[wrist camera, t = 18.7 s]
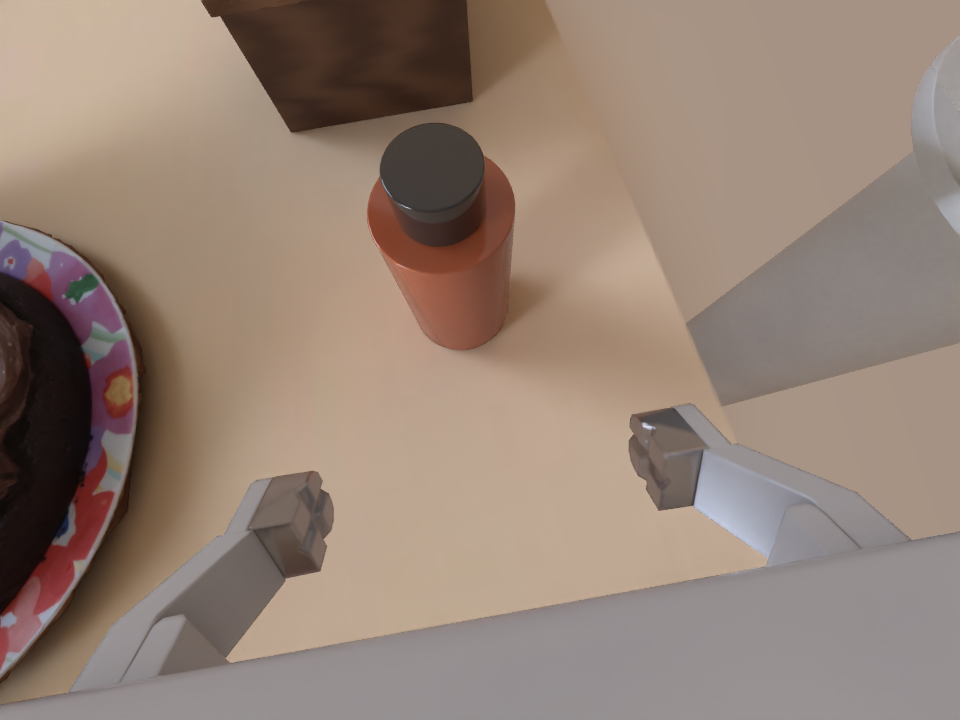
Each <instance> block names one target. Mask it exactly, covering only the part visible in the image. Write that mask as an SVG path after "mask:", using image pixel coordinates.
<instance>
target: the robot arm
mask: <svg viewBox="0 0 960 720" xmlns="http://www.w3.org/2000/svg"><path fill="white" fill-rule="evenodd" d="M630 429H631V430H632V432H633V433H634V434H633V436H632V437H631V438H630V439H629V454H630V459H631V462H632V465H633V467H634V469H635V471H636V473H637V475H638V476H639V477H641V478H643V479H644V480H646V481H647V485H646V490H647V492H648V494H649V495H650V497H651V499H652V500H653V502H654V504H655V505H656V507H657V509H658V510H659V511H661V510H667V509H674V508H680V507H687V506H694V508H695V509H697V510H698V511H700V512H701V513H703V514H704V515H705V516H707V517H708V518H710V519H711V520H713V521H714V522H716V523H717V524H719V525H720V526H721V527H723V528H724V529H726V530H727V531H729V532H730V533H732V534H733V535H735V536H736V537H737V538H739V539H740V540H742V541H743V542H745V543H746V544H748V545H749V546H751V547H752V548H753V549H755V550H756V551H758V552H759V553H761V554H762V555H764V556H765V557H767V558H768V562H767V565H766V567H761V568H755V569H750V570H744V571H738V572H733V573H727V574H722V575H716V576H711V577H705V578H700V579H694V580H688V581H683V582H677V583H672V584H666V585H661V586H655V587H650V588H644V589H639V590H633V591H628V592H622V593H617V594H611V595H606V596H600V597H595V598H589V599H584V600H578V601H573V602H567V603H562V604H556V605H551V606H545V607H540V608H534V609H529V610H523V611H518V612H512V613H507V614H501V615H496V616H490V617H484V618H479V619H473V620H468V621H462V622H456V623H451V624H445V625H440V626H434V627H429V628H423V629H417V630H412V631H406V632H401V633H395V634H390V635H384V636H379V637H373V638H367V639H362V640H356V641H351V642H345V643H340V644H334V645H329V646H323V647H318V648H312V649H306V650H301V651H295V652H290V653H284V654H279V655H273V656H268V657H262V658H257V659H251V660H245V661H240V662H234V663H230V662H229V661H228V660H227V659H226V657H227V656H228V654H229V653H230V652H231V650H232V649H233V648H234V647H235V645H236V644H237V643H238V641H239V640H240V639H241V638H242V636H243V635H244V634H245V632H246V631H247V630H248V629H249V627H250V626H251V625H252V623H253V622H254V621H255V620H256V618H257V617H258V616H259V614H260V613H261V612H262V611H263V609H264V608H265V607H266V605H267V604H268V603H269V601H270V600H271V599H272V598H273V596H274V595H275V594H276V592H277V591H278V590H279V589H280V587H281V586H282V585H283V583H284V582H285V581H286V580H285V579H286V578H290V577H295V576H300V575H305V574H310V573H314V572H319V571H321V567H322V563H323V560H324V556H325V552H326V549H327V545H326V543H325V541H324V540H323V539H324V538H325V537H326V536H327V535H328V534H329V532H330V531H331V529H332V525H333V521H334V508H333V503H332V500H331V498H330V495H329V493H327V492H325V491H323V490H322V489H320V488H321V485H322V482H323V481H322V479H321V477H320V475H319V473H318V472H316V471H309V472H303V473H296V474H290V475H283V476H276V477H273V478H266V479H259V480H256V481H254V482H253V483H251V485H250V486H249V488H248V490H247V492H246V494H245V496H244V498H243V500H242V501H241V503H240V505H239V507H238V509H237V511H236V513H235V515H234V516H233V518H232V520H231V522H230V524H229V526H228V528H227V530H226V532H225V533H224V535H221V536H217V537H216V538H215V539H213V540H212V541H211V542H210V543H209V544H207V545H206V546H205V547H204V548H203V549H202V550H200V551H199V552H198V553H197V554H196V555H194V556H193V557H192V558H191V559H190V560H189V561H187V562H186V563H185V564H184V565H183V566H181V567H180V568H179V569H178V570H177V571H175V572H174V573H173V574H172V575H171V576H170V577H168V578H167V579H166V580H165V581H164V582H162V583H161V584H160V585H159V586H158V587H157V588H155V589H154V590H153V591H152V592H151V593H149V594H148V595H147V596H146V597H145V598H144V599H142V600H141V601H140V602H139V603H138V604H136V605H135V606H134V607H133V608H132V609H130V610H129V611H128V612H127V613H126V614H125V615H123V616H122V617H121V618H120V619H119V620H117V621H116V622H115V623H114V624H113V625H112V626H111V628H110V629H109V631H108V632H107V634H106V635H105V637H104V638H103V640H102V641H101V643H100V644H99V646H98V647H97V649H96V650H95V652H94V653H93V655H92V656H91V658H90V660H89V661H88V663H87V664H86V666H85V667H84V669H83V670H82V672H81V673H80V675H79V676H78V678H77V679H76V681H75V682H74V684H73V685H72V687H71V688H70V690H69V691H68V693H62V694H57V695H51V696H46V697H40V698H35V699H29V700H24V701H18V702H13V703H7V704H1V705H0V720H960V532H955V533H950V534H944V535H938V536H933V537H927V538H922V539H916V540H911V539H910V538H908V536H907V535H905V534H904V533H903V532H902V531H901V530H900V529H898V528H897V527H896V526H895V525H894V524H893V523H892V522H890V521H889V520H888V519H887V518H886V517H885V516H883V515H882V514H881V513H880V512H879V511H878V510H876V509H875V508H874V507H873V506H872V505H871V504H869V503H868V502H867V501H866V500H865V499H864V498H863V497H861V496H860V495H859V494H858V493H857V492H854V491H852V490H850V489H847V488H845V487H842V486H840V485H838V484H835V483H832V482H830V481H828V480H825V479H823V478H821V477H818V476H816V475H813V474H811V473H808V472H806V471H804V470H801V469H798V468H796V467H794V466H791V465H789V464H787V463H784V462H782V461H779V460H777V459H774V458H772V457H769V456H767V455H765V454H762V453H760V452H757V451H755V450H752V449H750V448H748V447H745V446H743V445H740V444H733V445H732V444H731V443H730V442H729V441H728V440H727V439H726V438H725V437H724V436H723V435H722V433H721V432H720V431H719V430H718V429H717V428H716V427H715V426H714V425H713V424H712V423H711V422H710V421H709V420H708V419H707V418H706V417H705V416H704V415H703V414H702V413H701V412H700V410H699V409H698V408H697V407H696V406H695V405H693V404H690V403H689V404H684V405H679V406H674V407H670V408H665V409H660V410H654V411H649V412H643V413H638V414H632V416H631V418H630Z"/></svg>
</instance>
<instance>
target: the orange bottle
mask: <svg viewBox="0 0 960 720" xmlns="http://www.w3.org/2000/svg"><path fill="white" fill-rule="evenodd" d="M514 220H515V199H514V194H513V191H512V187H511V185H510V183H509V181H508V179H507V177H506V176H505V175H504V173H503V172H502V170H501V169H500V168H499V167H498V166H497V165H496V164H495V163H494V162H492V161H491V160H490V159H488V158H487V157H485V156H484V155H483V152H482V150H481V148H480V146H479V145H478V143H477V142H476V141H475V139H474V138H473V137H472V136H471V135H469V134H468V133H467V132H465V131H464V130H462V129H460V128H458V127H455V126H452V125H448V124H443V123H428V124H422V125H418V126H415V127H412V128H410V129H408V130H406V131H404V132H402V133H401V134H400V135H398V136H397V137H396V138H395V139H394V140H393V141H392V142H391V143H390V144H389V145H388V147H387V148H386V150H385V152H384V154H383V156H382V159H381V163H380V177H379V179H378V180H377V182H376V183H375V185H374V187H373V189H372V192H371V194H370V198H369V202H368V208H367V221H368V226H369V230H370V233H371V236H372V238H373V240H374V242H375V244H376V246H377V247H378V249H379V251H380V253H381V255H382V257H383V259H384V260H385V262H386V264H387V266H388V268H389V270H390V272H391V273H392V275H393V277H394V279H395V281H396V283H397V285H398V286H399V288H400V290H401V292H402V294H403V296H404V298H405V299H406V301H407V303H408V305H409V307H410V309H411V311H412V312H413V314H414V316H415V318H416V320H417V322H418V324H419V325H420V327H421V329H422V331H423V332H424V333H425V335H426V336H427V337H428V338H429V339H431V340H432V341H433V342H435V343H436V344H438V345H440V346H443V347H445V348H449V349H454V350H467V349H472V348H476V347H478V346H481V345H483V344H485V343H487V342H488V341H489V340H491V339H492V338H493V337H494V336H495V335H496V334H497V333H498V332H499V331H500V329H501V328H502V326H503V324H504V322H505V319H506V316H507V311H508V299H509V286H510V273H511V260H512V247H513V233H514Z"/></svg>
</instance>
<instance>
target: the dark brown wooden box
mask: <svg viewBox="0 0 960 720" xmlns="http://www.w3.org/2000/svg"><path fill="white" fill-rule="evenodd" d="M201 2H202V3H203V5H204V7H205V8H206V10H207V11H208V13H209V14H210V16H211V17H218V16H220V17H221V18H222V20H223V22H224V23H225V25H226V27H227V28H228V30H229V32H230V33H231V35H232V36H233V38H234V40H235V41H236V43H237V45H238V46H239V48H240V50H241V51H242V53H243V54H244V56H245V58H246V59H247V61H248V63H249V64H250V66H251V68H252V69H253V71H254V72H255V74H256V76H257V77H258V79H259V81H260V82H261V84H262V86H263V87H264V89H265V90H266V92H267V94H268V95H269V97H270V99H271V100H272V102H273V104H274V105H275V107H276V108H277V110H278V112H279V113H280V115H281V117H282V118H283V120H284V122H285V123H286V125H287V126H288V128H289V130H290V131H291V132H297V131H302V130H308V129H314V128H320V127H326V126H331V125H337V124H343V123H349V122H355V121H361V120H366V119H372V118H378V117H384V116H390V115H395V114H401V113H407V112H413V111H419V110H425V109H430V108H436V107H442V106H448V105H454V104H459V103H465V102H471V101H472V100H473V97H472V82H471V66H470V50H469V34H468V18H467V2H466V0H201Z"/></svg>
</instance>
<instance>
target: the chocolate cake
mask: <svg viewBox="0 0 960 720" xmlns="http://www.w3.org/2000/svg"><path fill="white" fill-rule="evenodd" d="M125 313H126V311H125V310H124V308H123V307H122V306H121V305H120V304H119V302H118V299H117V297H115V296H114V295H112V293H111V291H110V289H109V287H108V286H107V284H106V283H105V280H104V277H103V275H102V274H101V272H100V271H99V270H98V269H97V268H96V267H95V266H94V265H93V264H92V263H91V262H90V261H89V260H88V259H87V258H86V257H85V256H83V255H82V254H80V253H79V252H77V251H76V250H75V249H74V248H73V247H72V246H71V245H68V244H65V243H63V242H62V241H61V240H60V239H56V238H52V235H50V234H47V233H44V232H42V231H40V230H38V229H34V228H30V227H26V226H22V225H17V224H14V223H10V222H7V221H0V683H1V682H3V681H4V680H5V679H7V677H8V675H9V674H10V672H11V670H12V669H13V668H14V667H15V666H16V665H17V664H18V663H19V662H20V661H21V660H22V659H23V658H24V657H25V656H26V654H27V653H28V652H29V651H30V650H31V649H32V648H33V647H34V645H35V644H36V643H37V642H38V641H39V640H40V639H41V638H42V637H43V636H44V635H45V634H46V633H47V632H48V630H49V629H50V628H51V626H52V625H53V624H54V623H55V622H56V621H57V619H58V618H59V616H60V615H61V614H62V613H64V612H65V611H66V610H67V608H68V606H69V604H70V602H71V601H72V599H73V597H74V594H75V591H76V588H77V586H78V585H79V584H80V582H81V579H82V577H83V575H85V574H86V573H87V572H89V570H90V568H91V565H92V562H93V559H94V556H95V554H96V553H97V551H98V550H99V548H100V547H101V546H102V544H103V542H104V540H105V539H106V537H107V536H108V534H109V533H110V532H111V531H112V529H113V528H114V527H115V526H116V525H117V523H118V522H119V521H120V520H121V518H122V517H123V516H124V515H125V513H126V512H127V508H128V496H129V485H130V473H131V457H132V452H133V446H134V440H135V431H136V425H137V421H138V416H139V412H140V411H139V407H140V403H141V398H142V395H141V394H140V393H139V391H140V385H139V383H138V380H139V379H140V377H141V376H142V375H143V373H144V372H145V371H146V370H145V368H144V366H143V364H142V351H141V346H140V344H139V342H138V340H137V338H136V336H135V334H134V332H133V330H132V328H131V326H130V323H129V322H128V321H127V319H126V317H125V316H124V315H125Z"/></svg>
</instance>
